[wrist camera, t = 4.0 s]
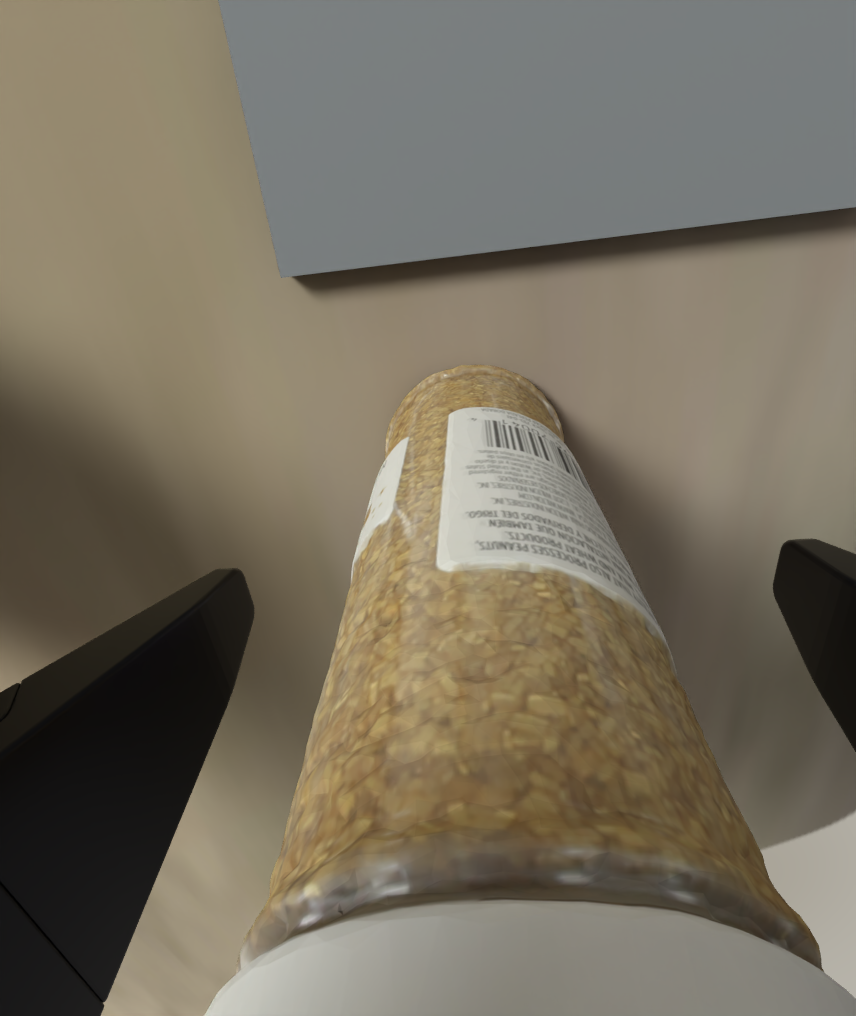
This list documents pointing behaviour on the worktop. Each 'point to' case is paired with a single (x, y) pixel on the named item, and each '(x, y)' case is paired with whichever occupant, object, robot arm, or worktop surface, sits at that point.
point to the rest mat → (537, 120)
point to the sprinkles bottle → (510, 766)
